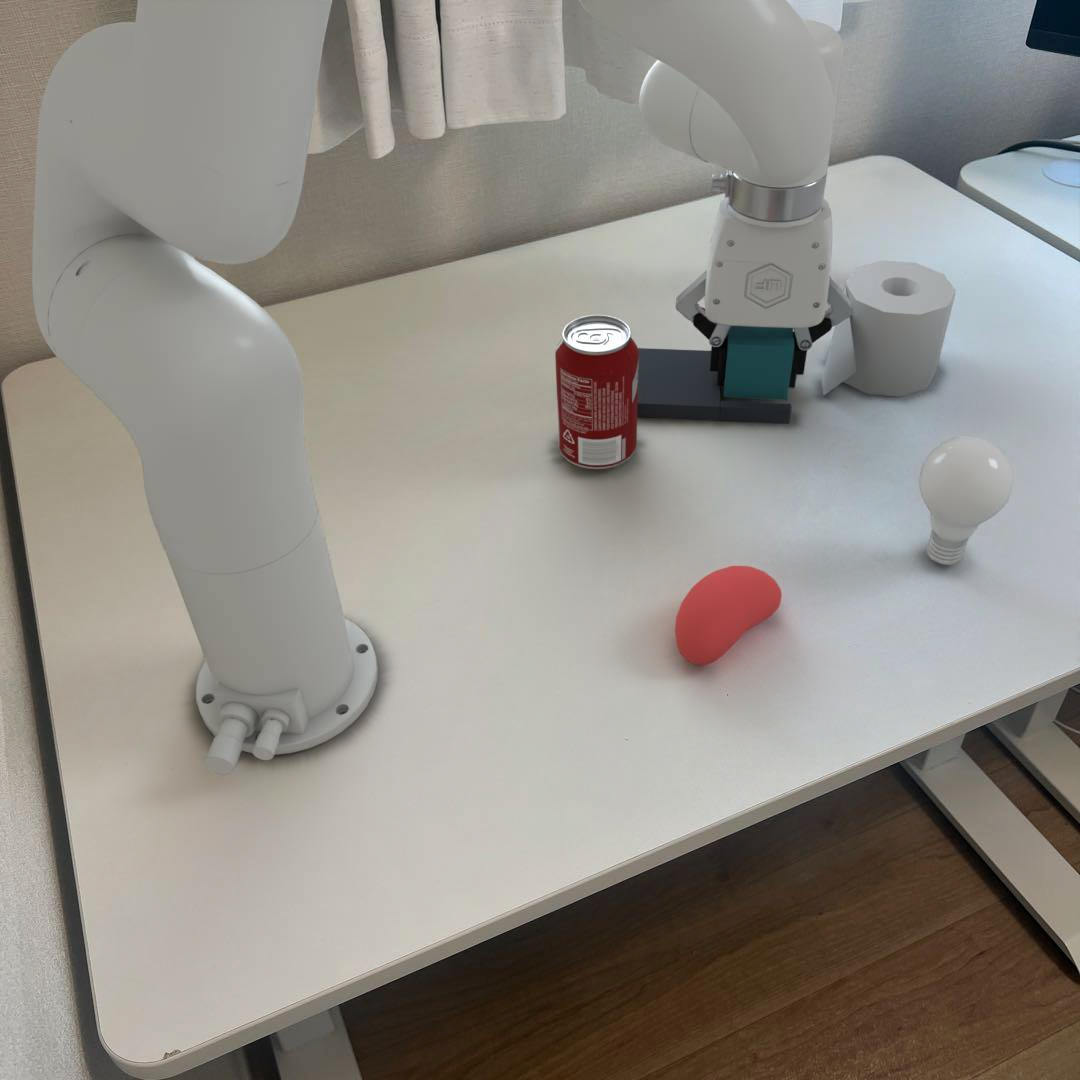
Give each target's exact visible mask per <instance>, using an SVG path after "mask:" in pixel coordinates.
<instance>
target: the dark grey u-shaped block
mask: <svg viewBox="0 0 1080 1080" xmlns="http://www.w3.org/2000/svg"><path fill="white" fill-rule="evenodd" d="M638 351H639V360H638V401H637V418H638V417H641V418H658V419H659V418H660V419H663V418H664V419H683V420H685V419H686V420H707V421H728V422H729V421H730V422H749V423H750V422H752V423H772V424H773V423H774V424H790V422H791V415H792V404H791V403H783V402H782V403H781V402H757V401H734V400H722V398H721V395H722V394H721V393H722V392H721V391H722V385H717V371H710V359H711V350H701V349H699V350H698V349H672V348H649V347H648V348H645V347H638Z"/></svg>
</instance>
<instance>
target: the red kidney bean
mask: <svg viewBox="0 0 1080 1080" xmlns="http://www.w3.org/2000/svg"><path fill="white" fill-rule="evenodd" d="M781 602H782V590H781V587H780V586H779V584H778V582H777V581H776V580H775V578H774V577H772V576H770V574H768V573H767V572H766V571H763V570H761V569H759V568H756V567H753V566H750V565H749V566H748V565H729V566H727V567H723V568H720V569H717V570H714V571H712V572H710V573H709V574H706V576H704V577H702V578H701V579H700V580H699V581H698V582H697V583H695V584H694V585H693V586H692V588H690V590H689V592H687V594H686V595H685V597H684V598H683V600H682V601H681V602H680V606H679V609H678V612H677V614H676V617H675V626H674V628H675V629H674V635H675V641H676V646H677V649H678V651H679V653H680V655H681V656H682V657H683V658H684V659H685V660H686V661H687V662H689V663H692V664H694V665H700V666H704V665H710V664H712V663H714V662H716V661H717V660H719V659H721V657H723V656H724V655H725V654H726V653H727V652H728V651H729V650H730V649H731V648H732V647H733V646H734V645H735V644H736V643H737V642H738V641H739V639H740V638H741V637H742V636H743V635H744V634H745V633H746V632H748V631H749V630H752V629H753V628H754V627H756V626H757V625H759V624H761V623H762V622H764V621H766V620H768V618H770V617H772V616H773V615H774V614H775V613H776V612H777V610H778V609H779V607H780V605H781Z"/></svg>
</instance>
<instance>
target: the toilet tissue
mask: <svg viewBox="0 0 1080 1080" xmlns="http://www.w3.org/2000/svg"><path fill="white" fill-rule="evenodd" d="M842 291H843V293H844V294H845V295H846V296H847V297H848V299H849V300H850V301H851V302H852V306H853V314H852V315H851V316H850V317H848V318H847V319H845V320H844V321H842V322H841V323H839V324H838V325H835V326H833V332H832V335H831V340H830V344H829V348H828V352H827V356H826V360H825V364H824V369H823V372H822V376H821V385H822V387H821V388H822V396H826V395H827V394H829V392H831V391H832V390H833V389H835V388H836V387H838V386H840V384H842V383H844V384H846V385H847V386H850V387H852V388H854V389H856V390H858V391H859V392H862V393H864V394H867V395H871V396H872V395H874V396H883V397H884V396H886V397H896V398H902V397H906V396H909V395H913V394H915V393H918V392H921V391H924V390H927V389H928V388H929V386H930V384H931V382H932V380H933V379H934V377H935V375H936V373H937V370H938V366H939V361H940V358H941V353H942V350H943V345H944V341H945V338H946V334H947V329H948V327H949V321H950V318H951V313H952V310H953V305H954V302H955V301H954V300H955V297H956V293H957V289H956V288H955V287H954V285H953V284H952V283H951V282H950V281H949V279H948V277H946V275H945V274H944V273H942V272H941V271H937V270H935V269H932V268H930V267H927V266H925V265H922V264H919V263H917V262H909V261H908V262H907V261H892V260H880V261H875V262H872V263H870V264H866V265H862V266H859V267H855V268H854V270H853V271H852V273H851V274H850V276H849V277H848V279H847V280H846V281H845V283H844V286H843V290H842Z"/></svg>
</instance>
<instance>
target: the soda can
mask: <svg viewBox="0 0 1080 1080" xmlns="http://www.w3.org/2000/svg"><path fill="white" fill-rule="evenodd" d="M561 335H562V339H560V341H559V342H558V344H557V345H556V348H555V351H554V352H555V353H554V355H555V357H554V358H555V384H556V385H555V386H556V412H557V413H556V414H557V438H558V439H557V441H558V451H559V453H560V454H561V456H562V457H563V458H564V459H565V460H566V461H567V462H569V463H571V464H572V465H574V466H577V467H578V468H583V469H588V470H605V469H606V470H608V469H611V468H615V467H618V466H620V465H622V464H624V463H626V462H628V460H630V458H632V457H633V455H634V454H635V452H636V449H637V443H638V442H637V440H638V439H637V436H638V417H637V401H638V360H639V351H638V348H639V347H638V345H637V343H636V342H635V340H634V339H633V338H632V330H631V327H630V326H629V325H628V324H627V323H626V322H625V321H624V320H622V319H620V318H618V317H615V316H611V315H606V314H589V315H585V316H580V317H577V318H576V319H573V320H571V321H570V322H569V323H567V324H566V325H565V327H564V328H563V329H562V334H561Z"/></svg>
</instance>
